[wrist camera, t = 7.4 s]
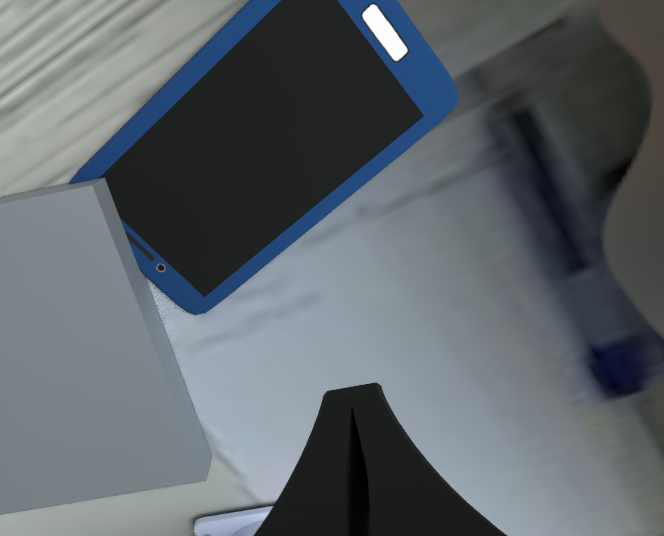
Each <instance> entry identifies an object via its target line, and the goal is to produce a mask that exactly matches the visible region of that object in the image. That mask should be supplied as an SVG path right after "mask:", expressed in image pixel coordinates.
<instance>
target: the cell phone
mask: <svg viewBox="0 0 664 536" xmlns="http://www.w3.org/2000/svg"><path fill="white" fill-rule="evenodd" d="M458 97H459V95H458V91H457V88H456V86H455V84H454V82H453V80H452V78H451V77H450V75H449V73H448V71H447V70H446V69H445V67H444V66H443V64H442V63H441V62H440V60H439V59H438V57H437V56H436V55H435V53H434V52H433V50H432V49H431V48H430V46H429V45H428V43H427V42H426V40H425V39H424V38H423V36H422V35H421V33H420V32H419V31H418V29H417V28H416V26H415V25H414V24H413V22H412V21H411V19H410V18H409V17H408V15H407V14H406V12H405V11H404V9H403V8H402V7H401V5H400V4H399V2H398V1H397V0H250V1H249V2H248V3H247V4H246V5H245V6H244V7H243V8H242V9H241V10H240V11H239V12H238V13H237V14H236V15H235V16H234V17H233V18H232V19H231V20H230V21H229V22H228V23H227V24H226V25H225V26H224V27H223V28H222V29H221V30H220V31H219V32H218V33H217V34H216V35H215V36H214V37H213V38H212V39H210V40H209V41H208V42H207V43H206V44H205V45H204V46H203V47H202V48H201V49H200V50H199V51H198V52H197V53H196V54H195V55H194V56H193V57H192V58H191V59H190V60H189V61H188V62H187V63H186V64H185V65H184V66H183V67H182V68H181V69H180V70H179V71H178V72H177V73H176V74H175V75H174V76H173V77H172V78H171V79H170V80H169V81H168V82H167V83H166V84H165V85H164V86H163V87H162V88H161V89H160V90H159V91H158V92H157V93H156V94H155V95H154V96H153V97H152V98H151V99H150V100H149V101H148V102H147V103H146V104H145V105H144V106H143V107H142V108H141V109H140V110H139V111H138V112H137V113H136V114H135V115H134V116H133V117H132V118H131V119H130V120H129V121H128V122H127V123H126V124H125V125H124V126H123V127H122V128H121V129H120V130H119V131H118V132H117V133H116V134H115V135H114V136H113V137H112V138H111V139H110V140H109V141H108V142H107V143H106V144H105V145H104V146H103V147H102V148H101V149H100V150H99V151H98V152H97V153H96V154H95V155H94V156H93V157H92V158H91V159H90V160H89V161H88V162H87V163H86V164H85V165H84V166H83V167H82V168H81V169H80V170H79V171H78V172H77V174H76V175H75V176H74V177H73V178H72V180H71V181H70V182H69V183H68V185H70V184H75V183H80V182H85V181H90V180H94V179H100V178H105V180H106V183H107V185H108V188H109V191H110V193H111V196H112V199H113V201H114V204H115V207H116V209H117V212H118V215H119V217H120V220H121V222H122V225H123V228H124V230H125V233H126V236H127V238H128V241H129V244H130V247H131V249H132V252H133V254H134V257H135V260H136V262H137V265H138V267H139V269H140V271H141V272H142V273H143V274H144V275H145V276H146V277H147V278H148V279H149V280H151V281H152V282H153V283H154V284H155V285H156V286H157V287H158V288H159V289H160V290H161V291H163V292H164V293H165V294H166V295H167V296H168V297H169V298H170V299H171V300H172V301H174V302H175V303H176V304H177V305H179V306H180V307H181V308H183V309H184V310H185V311H187V312H188V313H191V314H193V315H197V314H202V313H206V312H207V311H209V310H210V309H211V308H213V307H214V306H215V305H217V304H218V303H219V302H221V301H222V300H223V299H225V298H226V297H227V296H229V295H230V294H231V293H232V292H234V291H235V290H236V289H237V288H238V287H240V286H241V285H242V284H243V283H245V282H246V281H247V280H248V279H249V278H251V277H252V276H253V275H254V274H256V273H257V272H258V271H259V270H260V269H262V268H263V267H264V266H265V265H267V264H268V263H269V262H270V261H271V260H273V259H274V258H275V257H276V256H278V255H279V254H280V253H281V252H282V251H284V250H285V249H286V248H287V247H289V246H290V245H291V244H292V243H293V242H295V241H296V240H297V239H298V238H300V237H301V236H302V235H303V234H304V233H306V232H307V231H308V230H309V229H311V228H312V227H313V226H314V225H315V224H317V223H318V222H319V221H320V220H322V219H323V218H324V217H325V216H326V215H328V214H329V213H330V212H331V211H332V210H334V209H335V208H336V207H337V206H339V205H340V204H341V203H342V202H343V201H345V200H346V199H347V198H348V197H350V196H351V195H352V194H353V193H354V192H356V191H357V190H358V189H359V188H361V187H362V186H363V185H364V184H365V183H367V182H368V181H369V180H370V179H372V178H373V177H374V176H375V175H376V174H378V173H379V172H380V171H381V170H383V169H384V168H385V167H386V166H387V165H389V164H390V163H391V162H392V161H394V160H395V159H396V158H397V157H398V156H400V155H401V154H402V153H403V152H405V151H406V150H407V149H408V148H409V147H411V146H412V145H413V144H414V143H416V142H417V141H418V140H419V139H420V138H422V137H423V136H424V135H425V134H427V133H428V132H429V131H430V130H431V129H433V128H434V127H435V126H436V125H438V124H439V123H440V122H441V121H442V120H443V119H444V118H445V117H446V116H447V115H448V114H449V113H450V112H451V111H452V110H453V109H454V107H455V106H456V105H457V103H458Z"/></svg>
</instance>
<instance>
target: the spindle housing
mask: <svg viewBox="0 0 664 536" xmlns="http://www.w3.org/2000/svg"><path fill="white" fill-rule="evenodd" d="M211 459H212V455H211V452H210V450H209V447H208V444H207V442H206V439H205V436H204V433H203V431H202V428H201V425H200V423H199V420H198V417H197V414H196V412H195V409H194V406H193V404H192V401H191V398H190V396H189V393H188V390H187V387H186V385H185V382H184V379H183V377H182V374H181V371H180V369H179V366H178V363H177V360H176V358H175V355H174V352H173V350H172V347H171V344H170V342H169V339H168V336H167V333H166V331H165V328H164V325H163V323H162V320H161V317H160V314H159V312H158V309H157V306H156V304H155V301H154V298H153V296H152V293H151V290H150V287H149V285H148V282H147V279H146V277H145V275H144V274H143V273H142V272H141V271H140V269H139V267H138V265H137V262H136V260H135V257H134V254H133V252H132V249H131V247H130V244H129V241H128V238H127V236H126V233H125V230H124V228H123V225H122V222H121V220H120V217H119V215H118V212H117V209H116V207H115V204H114V201H113V199H112V196H111V193H110V191H109V188H108V185H107V183H106V180H105V178H100V179H94V180H90V181H85V182H80V183H75V184H70V185H68V184H63V185H58V186H53V187H48V188H43V189H38V190H33V191H28V192H23V193H18V194H13V195H8V196H3V197H0V515H2V514H8V513H14V512H20V511H26V510H32V509H38V508H44V507H50V506H56V505H62V504H68V503H74V502H80V501H86V500H92V499H98V498H104V497H110V496H116V495H122V494H128V493H134V492H140V491H146V490H153V489H159V488H165V487H171V486H177V485H183V484H189V483H195V482H201V481H206V478H207V475H208V471H209V467H210V463H211Z"/></svg>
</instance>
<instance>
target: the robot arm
mask: <svg viewBox="0 0 664 536" xmlns="http://www.w3.org/2000/svg"><path fill="white" fill-rule="evenodd" d="M194 533H195V535H196V536H507V535H506V534H504V533H503V532H502V531H500V530H499V529H498V528H497V527H496V526H494V525H493V524H492V523H491V522H490V521H488V520H487V519H486V518H485V517H484V516H483V515H481V514H480V513H479V512H478V511H477V510H475V509H474V508H473V507H472V506H471V505H470V504H468V503H467V502H466V501H465V500H464V499H463V498H462V497H461V496H460V495H459V494H458V493H457V492H456V491H455V490H454V489H453V488H452V487H451V486H450V485H449V484H448V483H447V482H446V481H445V480H444V479H443V478H442V477H441V476H440V475H439V473H438V472H437V471H436V470H435V469H434V468H433V467H432V466H431V464H430V463H429V462H428V461H427V460H426V458H425V457H424V456H423V455H422V453H421V452H420V451H419V450H418V448H417V447H416V446H415V444H414V443H413V442H412V440H411V439H410V438H409V436H408V435H407V433H406V432H405V430H404V429H403V427H402V426H401V425H400V423H399V421H398V420H397V418H396V417H395V415H394V413H393V411H392V410H391V408H390V406H389V404H388V402H387V400H386V398H385V396H384V393H383V391H382V387H381V385H379V384H378V383H371V384H365V385H359V386H353V387H348V388H342V389H336V390H330V391H327V392H326V393H325V394H324V396H323V400H322V403H321V407H320V410H319V413H318V416H317V419H316V421H315V424H314V427H313V429H312V432H311V434H310V436H309V439H308V441H307V443H306V446H305V448H304V450H303V453H302V455H301V457H300V459H299V461H298V463H297V465H296V467H295V469H294V471H293V473H292V475H291V477H290V478H289V480H288V482H287V484H286V486H285V488H284V489H283V491H282V493H281V495H280V496H279V498H278V500H277V501H276V503H275V504H274V506H270V507H264V508H258V509H252V510H245V511H239V512H233V513H227V514H221V515H215V516H208V517H202V518H199V519H197V520H196V522H195V525H194Z"/></svg>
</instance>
